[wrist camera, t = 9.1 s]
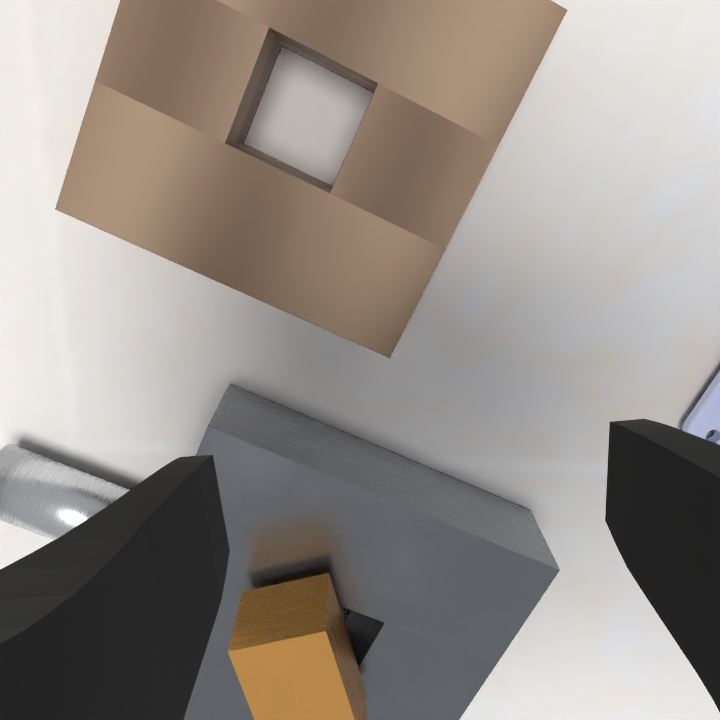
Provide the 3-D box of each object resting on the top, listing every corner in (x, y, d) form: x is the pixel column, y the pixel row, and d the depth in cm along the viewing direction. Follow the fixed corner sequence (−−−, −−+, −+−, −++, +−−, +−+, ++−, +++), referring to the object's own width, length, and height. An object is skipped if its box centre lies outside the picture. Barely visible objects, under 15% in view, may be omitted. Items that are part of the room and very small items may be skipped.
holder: (534, 31, 18) (567, 9, 16) (384, 329, 21) (389, 358, 18) (212, -147, 17) (184, -206, 14) (97, 200, 20) (55, 209, 17)
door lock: (530, 510, 24) (560, 569, 20) (389, 733, 27) (394, 815, 24) (60, 312, 21) (5, 343, 18) (-31, 587, 24) (-91, 656, 21)
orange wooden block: (364, 611, 25) (369, 763, 19) (295, 625, 25) (278, 780, 19) (332, 504, 23) (325, 631, 17) (259, 520, 24) (227, 651, 17)
